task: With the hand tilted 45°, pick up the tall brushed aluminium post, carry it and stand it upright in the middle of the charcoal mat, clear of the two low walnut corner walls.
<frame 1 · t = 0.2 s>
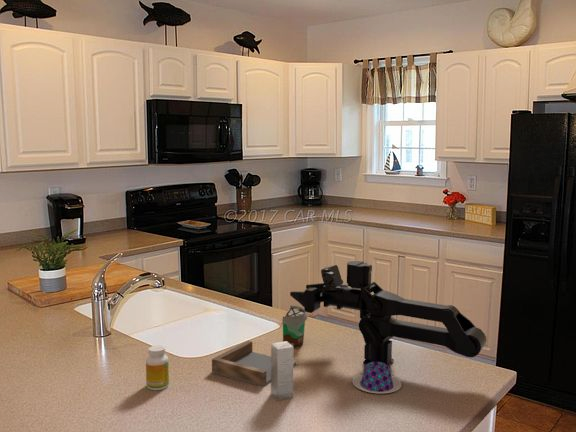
hand: (298, 290, 165), 17 cm above the countertop, tool horizontal, fingers open, 9 cm apart
food container: (296, 344, 168), on the countertop
corner walls: (254, 361, 150), on the corner mat, point 2 cm above the countertop
corner mat: (254, 368, 150), on the countertop
supplement bottle: (157, 386, 139), on the countertop
aluminium post: (282, 395, 134), on the countertop
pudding: (376, 386, 141), on the countertop
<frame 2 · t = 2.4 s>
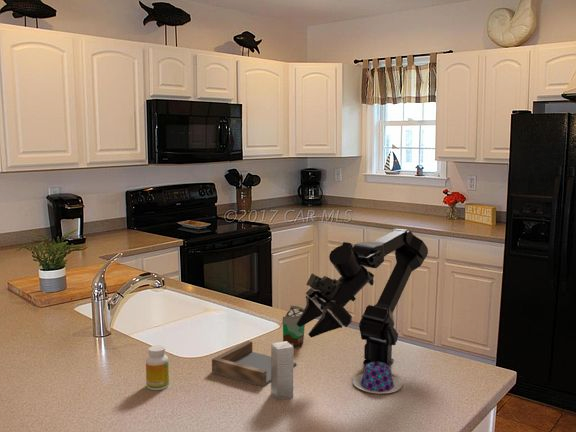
hand: (303, 330, 139), 14 cm above the countertop, tool tilted 50°, fingers open, 9 cm apart
nothing on the countertop moved.
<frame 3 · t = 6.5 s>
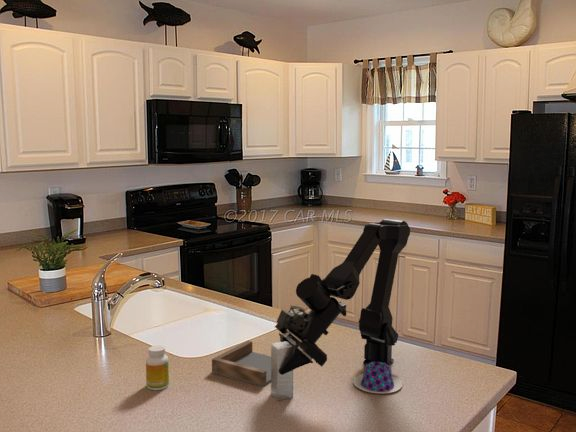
hand: (276, 370, 133), 7 cm above the countertop, tool tilted 45°, fingers closed on aluminium post, 4 cm apart
aluminium post: (282, 395, 134), on the countertop, touching gripper
everything else where it was.
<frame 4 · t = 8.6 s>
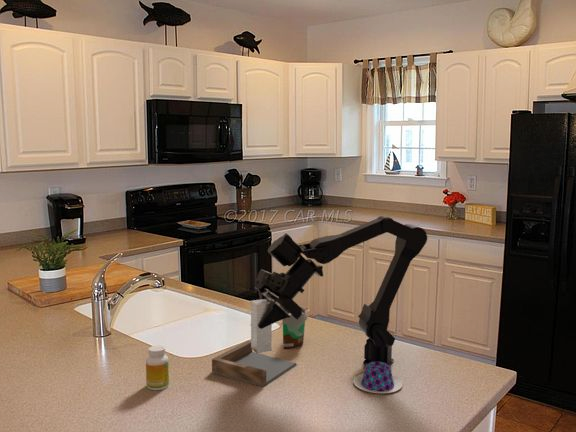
hand: (256, 325, 143), 14 cm above the countertop, tool tilted 45°, fingers closed on aluminium post, 4 cm apart
aluminium post: (261, 349, 145), point 7 cm above the countertop, touching gripper
everything else where it was.
when the fingers open (8 cm above the countertop, at t = 10.7 s): aluminium post stays where it is, resting on corner mat.
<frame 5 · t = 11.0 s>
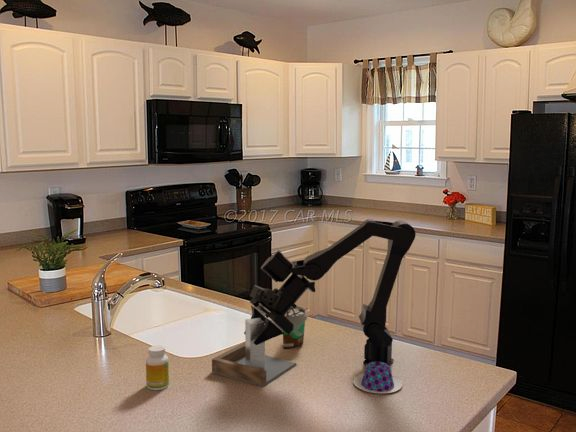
hand: (249, 339, 148), 8 cm above the countertop, tool tilted 45°, fingers open, 7 cm apart
aluminium post: (255, 366, 150), point 1 cm above the countertop, touching corner mat
everything else where it was.
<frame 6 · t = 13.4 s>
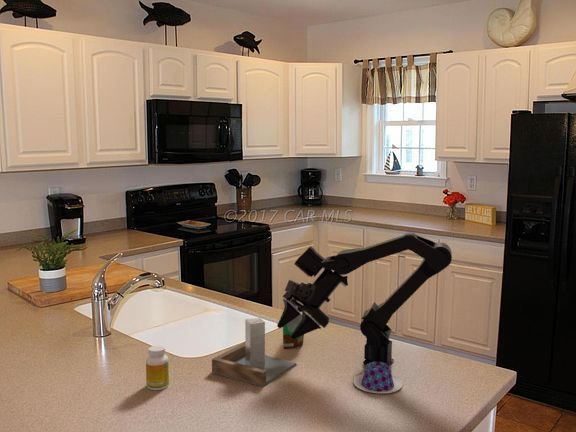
hand: (284, 332, 152), 9 cm above the countertop, tool tilted 45°, fingers open, 9 cm apart
nothing on the countertop moved.
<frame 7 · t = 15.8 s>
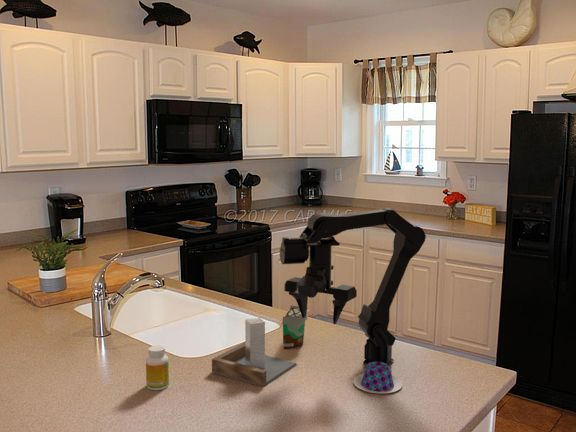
hand: (319, 320, 149), 13 cm above the countertop, tool pointing down, fingers open, 9 cm apart
nothing on the countertop moved.
at the end: aluminium post inside the target area on the corner mat (0.1 cm from its centre), point 0.6 cm above the corner mat's base; aluminium post tilted 0°; aluminium post touching corner mat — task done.
